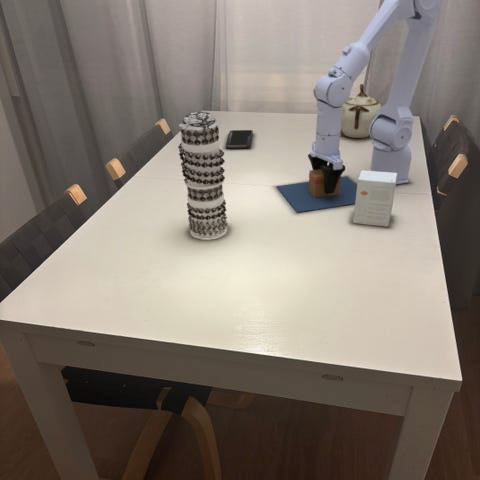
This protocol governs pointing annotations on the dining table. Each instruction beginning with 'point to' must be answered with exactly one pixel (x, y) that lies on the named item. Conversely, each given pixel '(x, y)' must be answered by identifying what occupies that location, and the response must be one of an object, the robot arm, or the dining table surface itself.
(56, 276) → the dining table surface
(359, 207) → the small box
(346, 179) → the napkin
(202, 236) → the decorative candle
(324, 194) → the packet
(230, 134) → the phone
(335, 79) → the robot arm
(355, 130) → the sugar bowl
